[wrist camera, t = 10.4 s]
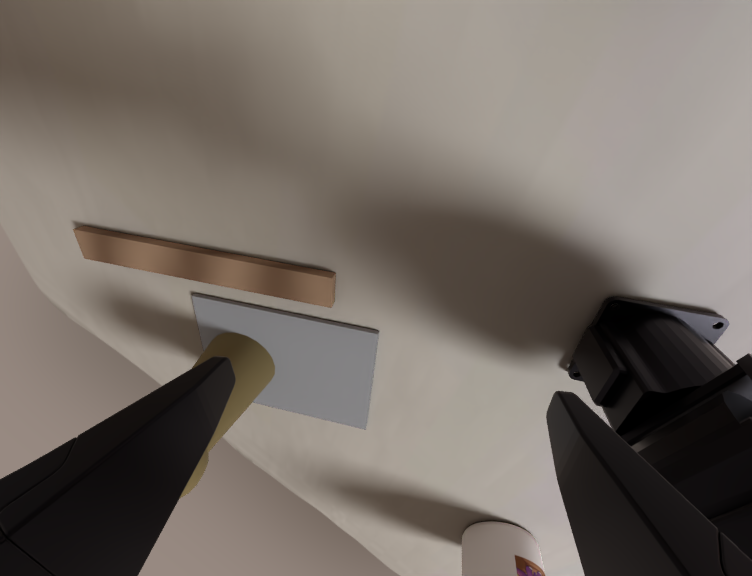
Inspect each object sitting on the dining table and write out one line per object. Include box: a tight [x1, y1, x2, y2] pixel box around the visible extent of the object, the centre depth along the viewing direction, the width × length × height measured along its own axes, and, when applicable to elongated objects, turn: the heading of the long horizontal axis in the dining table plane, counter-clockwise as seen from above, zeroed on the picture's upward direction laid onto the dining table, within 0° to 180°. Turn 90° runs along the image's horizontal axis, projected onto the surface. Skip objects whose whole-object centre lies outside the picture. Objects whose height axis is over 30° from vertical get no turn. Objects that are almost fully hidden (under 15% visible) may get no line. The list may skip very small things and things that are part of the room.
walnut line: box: [73, 226, 336, 308], centre depth 25 cm, size 20×2×1 cm, turn 84°
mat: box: [192, 293, 379, 430], centre depth 28 cm, size 15×11×1 cm
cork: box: [179, 333, 275, 499], centre depth 24 cm, size 6×6×11 cm
